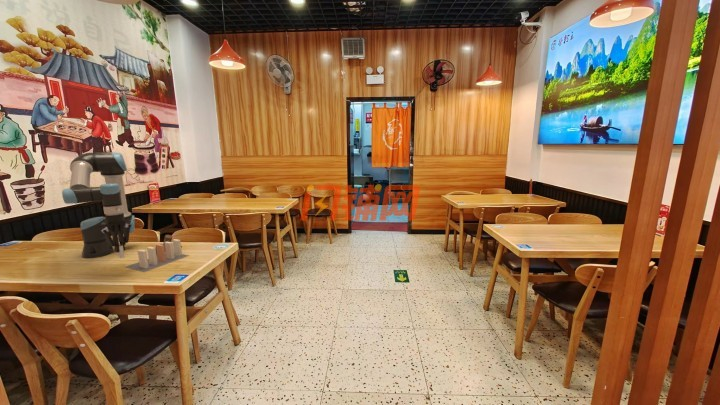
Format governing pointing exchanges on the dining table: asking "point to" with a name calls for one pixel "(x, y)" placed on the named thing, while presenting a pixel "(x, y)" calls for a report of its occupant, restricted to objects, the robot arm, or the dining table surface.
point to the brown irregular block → (166, 240)
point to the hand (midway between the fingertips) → (121, 257)
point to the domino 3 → (161, 252)
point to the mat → (138, 268)
